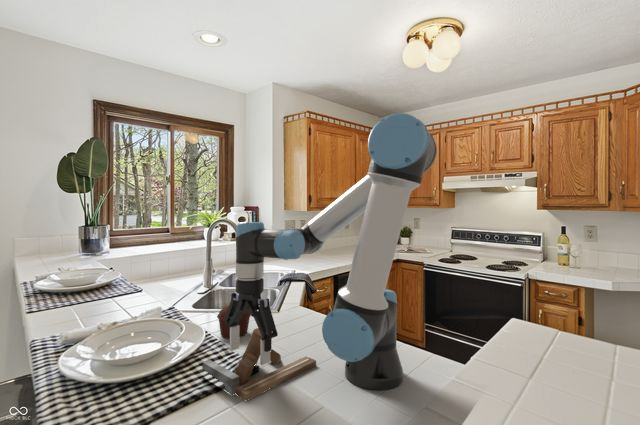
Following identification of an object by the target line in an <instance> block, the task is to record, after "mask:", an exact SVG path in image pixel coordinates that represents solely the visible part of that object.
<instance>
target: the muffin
mask: <svg viewBox="0 0 640 425" xmlns="http://www.w3.org/2000/svg"><path fill="white" fill-rule="evenodd" d="M229 305H230V304H229ZM229 305H226V306H224V307H223V308H221V309H220V311H219V312H218V314H217V316H216V318H218V323H219V331H220V335H221V337H222V338H226V339H229V340H230V335H229V330H230V327H229V326H228V323H225V317H226V314H227V311H228V308H229ZM251 317H252V316H251V314H249V313H247V312H245V313H244V314H243V316H242V317H241V319H240V321H239V323H238V324H237V325H239V338H243V337H245V336H246V335H247V333H248V330H249V323H250V318H251ZM230 318H231V317H230ZM237 325H236V326H237Z"/></svg>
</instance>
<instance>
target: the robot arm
mask: <svg viewBox="0 0 640 425" xmlns="http://www.w3.org/2000/svg"><path fill="white" fill-rule="evenodd" d="M367 150H368V153H369V157H370V162H369V167H368V169H367V170H368V171H367V174H366V175H365V176H364V177H362V179H360V180H359V181H357V183H355V184H354V185H353V186H351V187H350V188H349V189H347V190H346V191H345V192H344V193H342V194H341V195H340V196H339V197H337V199H335V200H334V201H333V202H331V203H330V204H329V205H327V206H326V207H325V208H324V209H322V210H321V211H320V212H319V213H318V214H316V215H315V216H314V217H313V218H311V219H310V220H309V221H308V222H307V223H306V224H304V225H303V226H302V227H300V228H292V229H290V228H288V229H267V228H266V229H265V224H264V222H262V221H260V222H259V221H241V222H238V223H237V225H236V230H235V231H236V233H235V254H236V255H235V277H236V278H237V279H236V280H235V291H234V292H231V294H230V295H231V296H230V297H231V298H230V302H229V308H228V311H227V314H226V317H225V323H228V326H229V327H230V330H229V335H230V339H229V351H231V352H233V351H235V350H236V351H237V350H238V349H240V337H239V325H237V324H238V323H239V321H240V319H241V317H242V316H243V314H244V313H245V312H247V313H249V314H251V316H250V317H252V318H253V319H254V321H255V323H256V326H257V328H259V330H260V333H261V335H262V337H263V338H262V339H260V357H259V360H260V363H259V364H260V365H261V366H264V365H266V364H268V363H270V362H271V361H270V352H271V349H272V341H273V340H272V339H273V338H275V337H276V338H277V337H278V331H277V327H276V324H275V320H274V317H273V313H272V309H271V305H270V304H271V303H270V299H269V298H264V299H262V296H261V294H262V293H263V292H264V287H265V286H264V282H265V281H264V278H263V276H264V274H265V273H264V271H265V270H264V268H265V267H264V266H265V265H264V262H265V261H264V260H265V258H269V259H278V260H279V259H281V260H285V261H288V260H297V259H299V258H300V257H301V256H302V255H303V256H304V255H311V254H314V253H317V252H318V251H320V250H321V248H322V247H323V245H324V244H325V242H327V241H328V240H329V239H331V238H332V237H333V236H335V235H336V234H337V233H338V232H340V231H342V230H343V229H344V228H345V227H347V226H348V225H349V224H351V223H352V222H353V221H355V220H356V219H357V218H359V217H360V216H361V215H362V214H363V218H362V221H361V225H360V226H361V227H360V230H359V234H358V238H357V241H356V247H355V250H354V253H353V254H354V255H353V258H352V261H351V262H352V263H351V266H350V270H349V274H348V279H347V281H346V282H347V283H346V284H345V285H344V286H342V287H340V288H339V289H338V292H337V295H336V298H335V302H334V307H333V310H331V311H329V312H328V313H327V315H326V316H325V318H324V319H323V321H322V326H321V334H322V337H323V341H324V343H325V344H326V346H327V349H328V350H329V351H330V352H331V353H332V354H333V356H335V357H337V358H338V359H340V360H342V361H345V365H344V376H345V378H346V379H347V380H348V381H349V382H350V383H352V384H353V385H355V386H358V387H360V388H363V389H369V390H374V391H375V390H376V391H382V390H390V389H393V388H396V387H398V386H399V385H401V384H402V382H403V380H404V371H403V370H404V369H403V366H402V363H401V359H400V357H399V356H400V355H399V353H398V350H397V326H398V325H397V324H398V323H397V322H398V321H397V320H398V319H397V317H398V316H397V315H398V314H397V312H398V309H397V308H398V307H397V306H398V300H397V297H398V296H397V294H396V292H395V291H394V290H391V289H386V288H387V284H388V281H389V277H390V272H391V268H392V265H393V261H394V257H395V254H396V250H397V247H398V246H397V245H398V242H399V239H400V234H401V230H402V227H403V223H404V220H405V216H406V212H407V209H408V208H407V207H408V205H409V201H410V197H411V194H412V192H413V191H414V190H415V189H418V188H419V187H420V186H421V184H422V180H423V177H424V174H425V173H427V171H429V170H430V168H431V167H432V166H433V164H434V163H435V161H436V159H437V152H438V149H437V144H436V141H435V138H434V137H433V135H432V134H431V133H430V131H429V130H428V128H427V126H426V125H425V123H424V122H423V121H422V120H420V119H419V118H417V117H416V116H414V115H412V114H410V113H409V114H408V113H403V112H397V113H396V112H395V113H392V114H389V115H387V116H384V117H383V118H382V119H381V120H379V121H378V122H377V123H376V124H374V126H373V128H372V129H371V131H370V133H369V136H368V139H367ZM230 317H231V318H230ZM236 325H237V326H236ZM266 333H267V334H266Z"/></svg>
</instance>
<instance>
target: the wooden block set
mask: <svg viewBox="0 0 640 425" xmlns="http://www.w3.org/2000/svg"><path fill="white" fill-rule="evenodd" d="M266 334H267V333H266ZM262 338H263V337H262V335H261V333H260V330H259V328H258V327H257V328H256V327H255V328H254V329H253V331H252V333H251V335H250V337H249V340H248V343H247V346H246V348H245V350H244V353H243V354H242V356H241V359H240V361H239V362H238V365H237V367H236V370H235V372H234V373H235V374H237V375H238V376H239V387H240V386H242V385H244V384H246V383H247V382H249V381H250V380H249V379H250V377H251V376H252V373H253V370H254V365H255V364H256V365H257V364H258V362H259V360H260V339H262ZM281 361H282V358H281V354H280V353H279V352H277V351H275V350H274V349H272V348H271V351H270V362H271V363H273V365H278V364H279V363H280V362H281Z"/></svg>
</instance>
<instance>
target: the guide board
mask: <svg viewBox="0 0 640 425" xmlns="http://www.w3.org/2000/svg"><path fill="white" fill-rule="evenodd" d="M314 367H317V359H313V358H311V357H308V356H304V357H301V358H299V359H297V360H294V361H293V362H290V363H288V364H286V365H284V366H281V367H279V368H277V369H275V370H273V371H270V372H269V373H267V374H264V375H261V376H259V377H258V378H255V379H253V380H251V381H248V383H246V384H244V385H242V386H240V387H239V376H238V375H237V374H235V372H233V371H231V370H229V369H227V368H226V367H224V366H221V364H219V363H216V362H214V361H213V360H210V359H208V360H205V361H202V370H203V369H204V370H205V371H206V372H208V373H209V374H210V375H212V376H213V377H215V378H216V379H218V380H219V381H221V382H223V383H224V386H225V390H226V391H227V392H229V393H230V394H231V395H233V394H235V393H236V394H237V395H238V396H239V397H238V396H237V395H236V396H237V397H238V398H240V397H241V398H242V399H241V398H240V399H241V400H243V399H244V400H243V401H245V400H247V401H249V400H251V399H253V398H255V397H257V396H259V395H261V394H263V393H265V392H267V391H269V390H270V389H269V388H271V389H273V388H275V387H277V386H279V385H281V384H283V383H284V382H287V381H289V380H291V379H293V378H295V377H298V376H299V375H301V374H303V373H305V372H307V371H308V370H311V369H312V368H314ZM282 382H283V383H282ZM280 383H281V384H280ZM278 384H279V385H278ZM276 385H277V386H276ZM274 386H275V387H274ZM272 387H273V388H272ZM268 389H269V390H268ZM266 390H267V391H266ZM264 391H265V392H264ZM262 392H263V393H262ZM256 395H257V396H256ZM254 396H255V397H254ZM252 397H253V398H252ZM250 398H251V399H250ZM248 399H249V400H248Z"/></svg>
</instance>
